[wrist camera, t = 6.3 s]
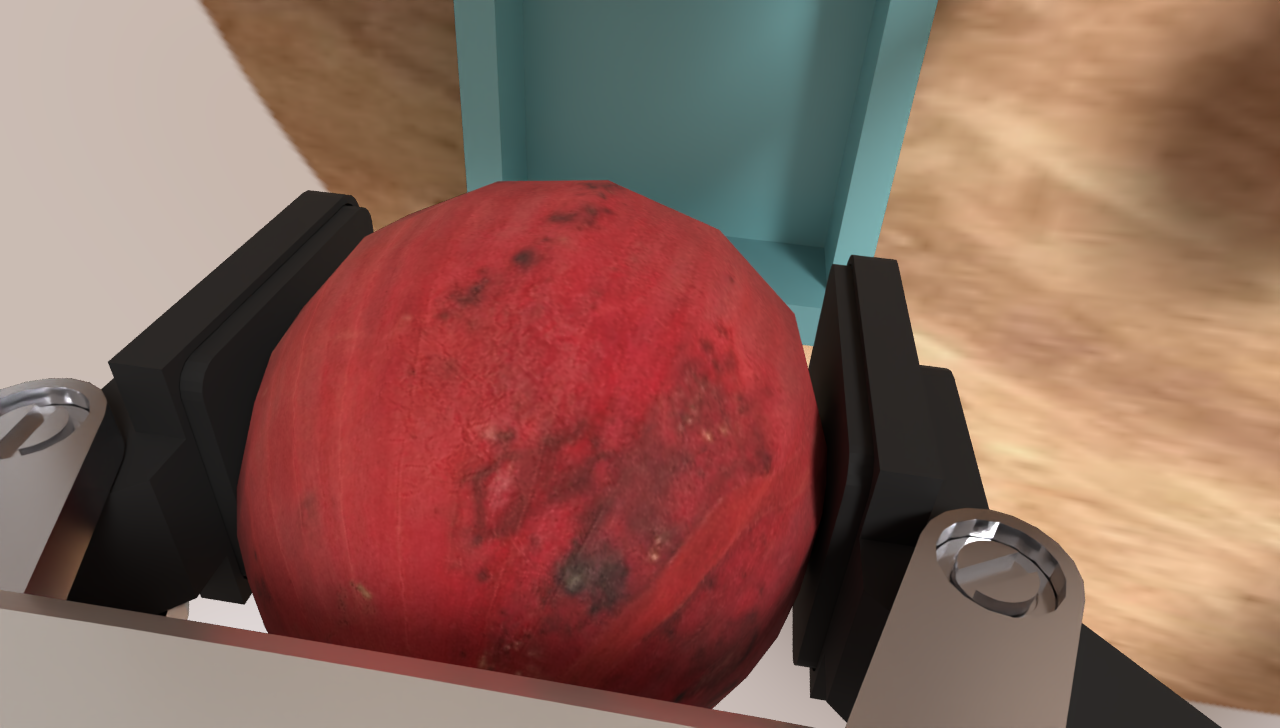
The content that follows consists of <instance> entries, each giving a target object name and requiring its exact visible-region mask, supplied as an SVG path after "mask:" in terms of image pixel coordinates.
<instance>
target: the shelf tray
mask: <svg viewBox="0 0 1280 728" xmlns="http://www.w3.org/2000/svg"><path fill="white" fill-rule="evenodd" d="M453 1H454V15H455V29H456V43H457V57H458V71H459V85H460V99H461V113H462V127H463V140H464V154H465V168H466V182H467V193H468V192H470V191H473V190H476V189H478V188H481V187H484V186H486V185H489V184H492V183H494V182H497V181H572V180H609V181H611V182H613V183H616V184H618V185H620V186H622V187H625V188H627V189H629V190H631V191H634V192H636V193H638V194H640V195H642V196H645V197H647V198H649V199H651V200H654V201H656V202H658V203H660V204H663V205H665V206H667V207H669V208H672V209H674V210H676V211H678V212H681V213H683V214H685V215H687V216H690V217H692V218H694V219H696V220H699V221H701V222H703V223H705V224H708V225H710V226H712V227H714V228H716V229H719V230H720V231H721V232H722V233H723V234H724V236H725V237H726V238H727V239H728V240H729V241H730V242H731V243H732V244H733V246H734V247H735V248H736V249H737V250H738V251H739V252H740V253H741V254H742V256H743V257H744V258H745V259H746V260H747V261H748V262H749V263H750V265H751V266H752V267H753V268H754V269H755V270H756V271H757V272H758V273H759V275H760V276H761V277H762V278H763V279H764V280H765V281H766V282H767V283H768V285H769V286H770V287H771V288H772V289H773V290H774V291H775V292H776V294H777V295H778V296H779V297H780V298H781V299H782V300H783V301H784V302H785V304H786V305H787V306H788V307H789V308H790V309H791V310H792V311H793V312H794V314H795V317H796V321H797V325H798V329H799V334H800V338H801V342H802V345H810V346H813V345H814V341H815V336H816V332H817V327H818V322H819V318H820V313H821V309H822V304H823V299H824V295H825V290H826V286H827V281H828V276H829V272H830V269H831V266H832V264H839V265H847V263H848V260H849V257H850V256H851V255H859V256H868V257H874V254H875V250H876V246H877V242H878V238H879V234H880V230H881V226H882V222H883V218H884V214H885V210H886V206H887V202H888V198H889V194H890V190H891V186H892V182H893V178H894V174H895V170H896V166H897V162H898V158H899V154H900V150H901V146H902V142H903V138H904V134H905V130H906V126H907V122H908V118H909V114H910V110H911V106H912V102H913V98H914V94H915V90H916V86H917V82H918V78H919V74H920V70H921V66H922V62H923V58H924V54H925V50H926V46H927V42H928V38H929V34H930V30H931V26H932V22H933V18H934V14H935V10H936V6H937V2H938V0H453Z"/></svg>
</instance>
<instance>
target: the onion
mask: <svg viewBox="0 0 1280 728" xmlns="http://www.w3.org/2000/svg"><path fill="white" fill-rule="evenodd" d="M826 476H827V444H826V440H825V436H824V432H823V428H822V424H821V420H820V416H819V412H818V407H817V403H816V399H815V395H814V391H813V387H812V383H811V379H810V375H809V370H808V366H807V362H806V358H805V354H804V350H803V346H802V342H801V338H800V334H799V329H798V325H797V321H796V317H795V314H794V312H793V311H792V310H791V309H790V308H789V307H788V306H787V305H786V304H785V302H784V301H783V300H782V299H781V298H780V297H779V296H778V295H777V294H776V292H775V291H774V290H773V289H772V288H771V287H770V286H769V285H768V283H767V282H766V281H765V280H764V279H763V278H762V277H761V276H760V275H759V273H758V272H757V271H756V270H755V269H754V268H753V267H752V266H751V265H750V263H749V262H748V261H747V260H746V259H745V258H744V257H743V256H742V254H741V253H740V252H739V251H738V250H737V249H736V248H735V247H734V246H733V244H732V243H731V242H730V241H729V240H728V239H727V238H726V237H725V236H724V234H723V233H722V232H721V231H720V230H719V229H716V228H714V227H712V226H710V225H708V224H705V223H703V222H701V221H699V220H696V219H694V218H692V217H690V216H687V215H685V214H683V213H681V212H678V211H676V210H674V209H672V208H669V207H667V206H665V205H663V204H660V203H658V202H656V201H654V200H651V199H649V198H647V197H645V196H642V195H640V194H638V193H636V192H634V191H631V190H629V189H627V188H625V187H622V186H620V185H618V184H616V183H613V182H611V181H609V180H572V181H497V182H494V183H492V184H489V185H486V186H484V187H481V188H478V189H476V190H473V191H470V192H468V193H465V194H462V195H460V196H457V197H454V198H452V199H449V200H446V201H444V202H441V203H438V204H436V205H433V206H430V207H428V208H425V209H423V210H420V211H417V212H415V213H412V214H409V215H407V216H405V217H403V218H401V219H399V220H397V221H395V222H393V223H391V224H389V225H387V226H385V227H383V228H381V229H379V230H377V231H376V232H374V233H372V234H370V235H368V236H366V237H364V238H363V239H362V241H361V242H360V243H359V244H358V245H357V246H356V247H355V249H354V250H353V251H352V252H351V253H350V254H349V255H348V257H347V258H346V259H345V260H344V261H343V262H342V263H341V265H340V266H339V267H338V268H337V269H336V270H335V271H334V273H333V274H332V275H331V276H330V277H329V278H328V280H327V281H326V282H325V283H324V284H323V285H322V286H321V288H320V289H319V290H318V291H317V292H316V293H315V294H314V296H313V297H312V298H311V299H310V300H309V301H308V302H307V304H306V305H305V306H304V307H303V308H302V310H301V311H300V313H299V314H298V316H297V317H296V318H295V320H294V321H293V323H292V324H291V326H290V327H289V329H288V330H287V331H286V333H285V334H284V336H283V337H282V339H281V340H280V342H279V343H278V344H277V346H276V347H275V349H274V350H273V352H272V353H271V356H270V359H269V362H268V365H267V368H266V371H265V374H264V377H263V380H262V382H261V385H260V388H259V391H258V394H257V397H256V400H255V403H254V407H253V412H252V416H251V421H250V426H249V431H248V436H247V441H246V446H245V450H244V455H243V460H242V465H241V470H240V475H239V480H238V484H237V538H238V542H239V546H240V550H241V554H242V558H243V562H244V567H245V571H246V575H247V579H248V583H249V585H250V588H251V591H252V593H253V596H254V599H255V601H256V604H257V606H258V610H259V612H260V615H261V618H262V620H263V623H264V626H265V628H266V630H267V632H268V634H274V635H280V636H286V637H292V638H298V639H304V640H310V641H316V642H322V643H328V644H334V645H340V646H346V647H352V648H358V649H364V650H370V651H376V652H381V653H387V654H393V655H399V656H405V657H411V658H417V659H423V660H429V661H435V662H441V663H447V664H453V665H459V666H464V667H470V668H476V669H482V670H488V671H494V672H500V673H506V674H512V675H517V676H523V677H529V678H535V679H540V680H546V681H552V682H558V683H564V684H569V685H575V686H581V687H587V688H592V689H598V690H604V691H610V692H615V693H621V694H627V695H633V696H639V697H644V698H650V699H656V700H662V701H667V702H673V703H679V704H685V705H691V706H696V707H702V708H708V709H713V707H715V706H716V705H717V704H718V703H719V702H720V701H721V700H722V699H723V698H725V697H726V696H727V695H728V694H729V693H730V692H731V691H732V690H733V689H734V688H735V687H737V686H738V685H739V684H740V683H741V682H742V681H743V680H744V679H745V678H746V677H747V676H748V675H749V674H750V672H751V671H752V670H753V668H754V667H755V666H756V664H757V663H758V662H759V661H760V659H761V658H762V657H763V655H764V654H765V653H766V651H767V650H768V649H769V648H770V646H771V645H772V644H773V642H774V641H775V640H776V638H777V637H778V635H779V633H780V631H781V629H782V627H783V625H784V623H785V621H786V619H787V617H788V614H789V612H790V610H791V608H792V606H793V604H794V602H795V600H796V598H797V596H798V594H799V592H800V589H801V586H802V582H803V579H804V575H805V572H806V569H807V565H808V562H809V558H810V555H811V551H812V548H813V545H814V541H815V538H816V534H817V531H818V528H819V524H820V521H821V517H822V513H823V505H824V497H825V490H826Z"/></svg>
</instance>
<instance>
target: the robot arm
mask: <svg viewBox="0 0 1280 728" xmlns="http://www.w3.org/2000/svg"><path fill="white" fill-rule="evenodd" d="M372 233H374V232H373V225H372V220H371V215H370V213H369V211H368V210H367V209H366V208H362V207H359V205H358V203H357V201H356V199H355V198H354V197H353V196H352V195H344V194H336V193H327V192H319V191H310V190H308V191H306V192H304V193H302V194H301V195H300V196H299V197H298V198H297V199H295V200H294V201H293V202H292V203H291V204H290V205H289V206H287V207H286V208H285V209H284V210H283V211H282V212H280V213H279V214H278V215H277V216H276V217H275V218H274V219H273V220H271V221H270V222H269V223H268V224H267V225H265V226H264V227H263V228H262V229H261V230H260V231H258V232H257V233H256V234H255V235H254V236H253V237H252V238H250V239H249V240H248V241H247V242H246V243H245V244H244V245H243V246H241V247H240V248H239V249H238V250H237V251H235V252H234V253H233V254H232V255H231V256H230V257H229V258H227V259H226V260H225V261H224V262H223V263H222V264H220V265H219V266H218V267H217V268H216V269H215V270H214V271H212V272H211V273H210V274H209V275H208V276H207V277H205V278H204V279H203V280H202V281H201V282H200V283H198V284H197V285H196V286H195V287H194V288H193V289H192V290H190V291H189V292H188V293H187V294H186V295H185V296H183V297H182V298H181V299H180V300H179V301H178V302H177V303H175V304H174V305H173V306H172V307H171V308H170V309H169V310H167V311H166V312H165V313H164V314H163V315H162V316H160V317H159V318H158V319H157V320H156V321H155V322H153V323H152V324H151V325H150V326H149V327H148V328H147V329H145V330H144V331H143V332H142V333H141V334H140V335H138V337H136V338H135V339H134V340H133V341H132V342H130V343H129V344H128V345H127V346H126V347H125V348H123V350H121V351H120V352H119V353H118V354H117V355H115V356H114V357H113V358H112V359H111V360H110V361H108V364H109V366H110V369H111V371H112V374H113V376H114V378H113V379H112V380H111V381H110V382H109V383H108V384H107V385H106V386H104V387H103V388H102V389H99V388H98V387H96V386H94V385H93V384H91V383H90V382H85V381H81V380H76V379H72V378H49V379H42V380H35V381H29V382H24V383H21V384H17V385H14V386H10V387H7V388H4V389H0V728H813V727H808V726H802V725H797V724H792V723H787V722H781V721H776V720H771V719H765V718H759V717H754V716H748V715H742V714H737V713H730V712H725V711H719V710H714V709H708V708H702V707H696V706H691V705H685V704H679V703H673V702H667V701H662V700H656V699H650V698H644V697H639V696H633V695H627V694H621V693H615V692H610V691H604V690H598V689H592V688H587V687H581V686H575V685H569V684H564V683H558V682H552V681H546V680H540V679H535V678H529V677H523V676H517V675H512V674H506V673H500V672H494V671H488V670H482V669H476V668H470V667H464V666H459V665H453V664H447V663H441V662H435V661H429V660H423V659H417V658H411V657H405V656H399V655H393V654H387V653H381V652H376V651H370V650H364V649H358V648H352V647H346V646H340V645H334V644H328V643H322V642H316V641H310V640H304V639H298V638H292V637H286V636H280V635H274V634H268V633H261V632H256V631H249V630H244V629H237V628H231V627H226V626H220V625H213V624H208V623H202V622H196V621H190V620H187V618H188V614H189V601H191V600H193V599H195V598H197V597H198V595H199V594H200V595H201V597H202V598H208V599H214V600H220V601H226V602H232V603H238V604H245V603H246V601H247V600H248V598H249V597H250V595H251V594H252V591H251V588H250V585H249V583H248V579H247V575H246V571H245V567H244V562H243V558H242V554H241V550H240V546H239V542H238V538H237V484H238V480H239V475H240V470H241V465H242V460H243V455H244V450H245V446H246V441H247V436H248V431H249V426H250V421H251V416H252V412H253V407H254V403H255V400H256V397H257V394H258V391H259V388H260V385H261V382H262V380H263V377H264V374H265V371H266V368H267V365H268V362H269V359H270V356H271V353H272V352H273V350H274V349H275V347H276V346H277V344H278V343H279V342H280V340H281V339H282V337H283V336H284V334H285V333H286V331H287V330H288V329H289V327H290V326H291V324H292V323H293V321H294V320H295V318H296V317H297V316H298V314H299V313H300V311H301V310H302V308H303V307H304V306H305V305H306V304H307V302H308V301H309V300H310V299H311V298H312V297H313V296H314V294H315V293H316V292H317V291H318V290H319V289H320V288H321V286H322V285H323V284H324V283H325V282H326V281H327V280H328V278H329V277H330V276H331V275H332V274H333V273H334V271H335V270H336V269H337V268H338V267H339V266H340V265H341V263H342V262H343V261H344V260H345V259H346V258H347V257H348V255H349V254H350V253H351V252H352V251H353V250H354V249H355V247H356V246H357V245H358V244H359V243H360V242H361V241H362V239H363V238H364V237H366V236H368V235H370V234H372ZM808 370H809V375H810V379H811V383H812V387H813V391H814V395H815V399H816V403H817V407H818V412H819V416H820V420H821V424H822V428H823V432H824V436H825V440H826V444H827V476H826V490H825V497H824V505H823V513H822V517H821V521H820V524H819V528H818V531H817V534H816V538H815V541H814V545H813V548H812V551H811V555H810V558H809V562H808V565H807V569H806V572H805V575H804V579H803V582H802V586H801V589H800V592H799V594H798V596H797V598H796V600H795V602H794V604H793V663H794V665H798V666H804V667H810V698H814V699H820V700H826V702H827V703H828V704H829V705H830V706H831V707H832V708H833V709H834V710H835V711H836V712H837V713H838V714H839V715H840V716H841V717H842V718H843V719H844V720H845V721H846V722H847V724H846V727H845V728H1221V727H1220V726H1218V725H1217V724H1216V723H1214V722H1213V721H1212V720H1210V719H1209V718H1208V717H1207V716H1205V715H1204V714H1203V713H1201V712H1200V711H1198V710H1197V709H1196V708H1195V707H1193V706H1192V705H1191V704H1189V703H1188V702H1187V701H1185V700H1184V699H1183V698H1181V697H1180V696H1179V695H1177V694H1176V693H1175V692H1173V691H1172V690H1171V689H1169V688H1168V687H1167V686H1165V685H1164V684H1163V683H1161V682H1160V681H1159V680H1157V679H1156V678H1155V677H1153V676H1152V675H1151V674H1149V673H1148V672H1147V671H1145V670H1144V669H1143V668H1141V667H1140V666H1139V665H1137V664H1136V663H1135V662H1133V661H1132V660H1131V659H1129V658H1128V657H1127V656H1125V655H1124V654H1123V653H1121V652H1120V651H1119V650H1117V649H1116V648H1115V647H1113V646H1112V645H1111V644H1109V643H1108V642H1107V641H1105V640H1104V639H1103V638H1101V637H1100V636H1099V635H1097V634H1096V633H1095V632H1093V631H1092V630H1091V629H1089V628H1088V627H1087V626H1085V625H1084V624H1083V623H1082V617H1083V611H1084V604H1085V593H1084V581H1083V579H1082V577H1081V575H1080V573H1079V571H1078V569H1077V567H1076V565H1075V563H1074V561H1073V560H1072V559H1071V558H1070V557H1069V555H1068V554H1067V553H1066V552H1065V551H1064V550H1063V549H1062V547H1061V546H1060V545H1059V544H1058V543H1057V542H1055V541H1054V540H1053V539H1051V538H1050V537H1049V536H1047V535H1046V534H1045V533H1043V532H1042V531H1041V530H1039V529H1038V528H1036V527H1034V526H1032V525H1030V524H1028V523H1026V522H1024V521H1022V520H1020V519H1018V518H1016V517H1014V516H1011V515H1007V514H1004V513H1000V512H997V511H993V510H990V509H989V507H988V503H987V499H986V496H985V492H984V488H983V484H982V481H981V477H980V473H979V469H978V466H977V462H976V458H975V454H974V451H973V447H972V443H971V439H970V436H969V432H968V428H967V424H966V420H965V417H964V413H963V409H962V405H961V402H960V398H959V394H958V390H957V387H956V383H955V379H954V377H953V374H952V372H951V371H950V370H949V369H947V368H939V367H932V366H924V365H919V361H918V356H917V351H916V347H915V342H914V337H913V332H912V328H911V323H910V318H909V314H908V309H907V304H906V300H905V295H904V290H903V285H902V281H901V276H900V271H899V267H898V263H897V260H893V259H884V258H876V257H868V256H859V255H851V256H850V257H849V260H848V263H847V265H839V264H832V266H831V269H830V272H829V276H828V281H827V286H826V290H825V295H824V299H823V304H822V309H821V313H820V318H819V322H818V327H817V332H816V336H815V341H814V345H813V350H812V355H811V359H810V364H809V368H808Z"/></svg>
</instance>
